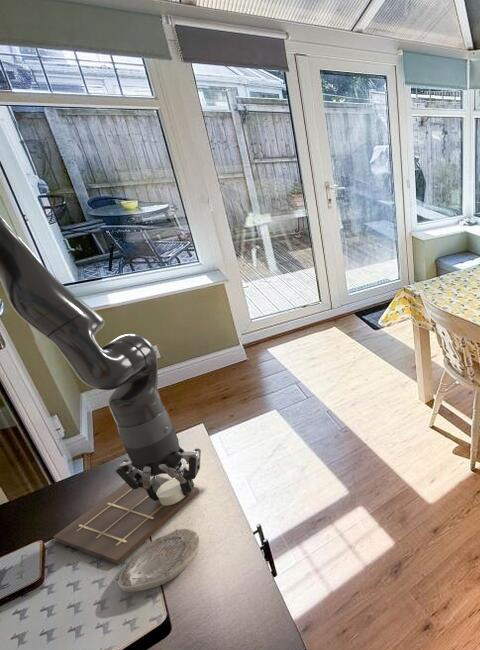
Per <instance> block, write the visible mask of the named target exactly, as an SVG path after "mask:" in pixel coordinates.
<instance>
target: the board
mask: <svg viewBox="0 0 480 650" xmlns="http://www.w3.org/2000/svg"><path fill="white" fill-rule="evenodd" d="M140 472H141V473H142V475H143V472H142V471H140ZM134 479H135V478H134ZM135 480H136V479H135ZM155 480H158V482H159V484H160V486H161V485H162V484H164V483H165V482H167V481H169V480H170V478H166V477H162V476H159V475H156V479H155ZM199 493H200V489H199V488H198V487H195V486H194V487H193V489H192V491H191V492H190V494H189V495H186V496H185V497H184V498H183V499H182V500H180V501H179V502H177V503H175V504H172V505H168V506H164V505H161V504H160V502H159V500H158V501H153V499H151V498H149V495H148V493H147V491H146V490H145V489H143V487H138V489H132V488H131V487H130V486H129V485H128V484H127V483H126V482H125V483H123V484H122V485H120V486H119V487H118V488H116V489H115V490H114V491H112V492H111V493H110V494H108V495H107V496H106V497H104V498H103V499H101V501H99V502H98V503H96V504H95V505H94V506H92V507H91V508H89V509H88V510H87V511H86V512H85V513H83V514H81V516H78V517H77V518H76V519H75V520H74V521H72V522H71V523H70V524H67V526H66V527H64V528H63V529H61V530H60V531H59V532H58V533H56V534H55V535H54V536H53V539H54V541H55V542H57V543H60V544H62V545H66V546H69V547H70V548H74V549H76V550H79V551H82V552H84V553H86V554H90V555H92V556H95V557H97V558H100V559H103V560H106V561H109V562H111V563H114V564H117V565H121V563H123V561H125V560H126V559H127V558H128V557H129V556H130V555H131V554H133V553H134V552H135V551H136V550H137V549H138V548H139V547H140V546H141V545H142V544H144V543H145V542H146V541H147V540H148V539H150V538H151V536H152V535H154V534H155V533H156V532H157V531H158V530H160V528H161V527H162V526H164V525H165V524H166V523H167V522H168V521H169V520H170V519H171V518H172V517H174V516H175V515H176V514H177V513H178V512H179V511H181V509H183V508H184V507H185V506H186V505H187V504H188V503H189V502H190V501H191V500H193V499H194V498H195V497H196V496H197V495H198V494H199Z"/></svg>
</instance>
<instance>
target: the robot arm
mask: <svg viewBox="0 0 480 650" xmlns="http://www.w3.org/2000/svg"><path fill="white" fill-rule="evenodd" d="M0 283H1V285H2V288H3V290H4V293H5V297H6V298H7V300H8V303H9V304H10V306H11V308H12V309H13V311H14V312H15V313H16V314H17V316H19V317H20V318H21V320H23V321H24V322H25V323H26V324H28V326H30V327H31V328H33V329H34V330H35V331H37V333H39V334H41V335H42V336H43V337H45V338H46V339H47V340H49V341H50V342H52V343H53V344H54V345H55V346H56V348H57V349H58V351H59V352H60V354H61V355H62V356H63V358H64V359H65V360H66V362H67V363H68V365H69V366H70V368H71V369H72V370H73V372H74V373H75V375H76V376H77V378H78V379H79V380H80V381H82V382H83V384H85V385H86V386H88V387H91V388H93V389H95V390H100V391H112V392H111V394H110V395H109V396H108V399H107V406H108V408H109V411H110V413H111V415H112V417H113V419H114V422H115V424H116V428H117V432H118V435H119V438H120V440H121V442H122V445H123V447H124V449H125V451H126V453H127V456H128V458H129V459H123V460H122V462H121V463H120V464H119V465H118V467H117V469H116V470H115V473H116V474H117V475H118V476H119V477H120V478H121V479H122V480H123V481H124V482H125V483H127V484H128V485H129V486H130V487H131V488H132V489H138V487H143V489H145V490H146V491H147V493H148V495H149V498H151V499H153V501H158V500H159V499H158V497H157V495H156V492H157V490H158V488H159V487H160V484H159V482H158V480H155V479H156V476H159V475H168V476H169V478H171V479H175V478H176V479H177V480H178V481H179V482H180V487H181V489H182V492H183V494H184V496H186V495H189V494H190V492H191V491H192V489H193V487H195V483H194V480H195V479H196V477H197V475H198V473H199V471H200V469H201V454H202V453H201V452H202V451H201V449H200V448H194V449H193V451H185V450H184V448H182V447H181V446H180V442H179V437H178V435H177V433H176V430H175V427H174V424H173V421H172V419H171V417H170V414H169V412H168V410H167V409H166V407H165V405H164V403H163V400H162V397H161V395H160V392H159V390H158V381H159V376H158V375H159V373H158V371H159V369H158V366H159V365H158V355H157V352H156V349H155V348H154V346H153V344H152V343H151V342H150V341H149V340H148V339H147V338H145V337H144V336H141V335H138V334H135V333H134V334H133V333H129V334H127V333H126V334H123V335H120V336H118V337H115V339H113V340H111V341H110V342H108V343H106V344H105V345H103V346H101V347H100V345H99V344H98V342H97V340H96V338H95V336H96V335H97V334H98V333H99V332H100V331H101V330H102V329H103V328H104V326H105V324H106V322H105V320H104V318H103V316H101V315H100V314H99V313H98V312H97V311H96V310H94V309H93V308H92V307H91V306H89V305H88V304H87V303H86V302H84V300H83V299H81V298H80V297H79V296H77V295H76V294H75V293H73V292H72V291H71V290H70V289H68V288H67V287H66V285H64V284H63V283H62V282H61V281H60V280H58V278H56V276H54V274H52V272H50V271H49V270H48V269H47V267H45V265H44V264H43V263H42V262H41V261H40V260H39V259H38V258H37V256H36V255H35V254H34V253H33V252H32V250H31V249H30V248H29V247H28V246H27V245H26V243H25V242H23V241H22V238H20V237H19V236H18V235H17V234H16V233H15V232H14V230H13V229H12V228H11V227H10V226H9V225H8V223H7V222H6V220H4V219H3V218H2V217H1V216H0ZM184 460H185V461H184ZM186 465H188V466H186ZM141 471H142V472H143V475H142V473H141ZM134 478H135V479H136V480H135V479H134Z"/></svg>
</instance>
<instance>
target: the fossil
mask: <svg viewBox="0 0 480 650" xmlns="http://www.w3.org/2000/svg"><path fill="white" fill-rule="evenodd" d="M199 545H200V536H199V534H198V533H197V532H196V531H194V530H191V529H190V528H176V529H174V530H173V531H171V532H169V533H167V534H165V535H162V536H159V537H157V538H156V539H153V540H151V541H149V542H147V543H146V544H144V545H143V546H142V547H141V548H139V550H138V551H137V552H136V553H134V554H133V556H132V557H131V558H130V560H129V561H128V563H127V564H126V565H125V567H124V568H123V570H122V571H121V572H120V574H119V577H118V581H117V584H118V587H119V588H120V589H121V590H122V591H124V592H140V591H145V590H150V589H153V588H156V587H160V586H161V585H162V586H163V585H165V584H166V583H168V582H169V581H171V580H173V579H174V578H175V577H178V575H180V573H182V572H183V571H184V569H186V568H187V567H188V566H189V565H190V564H191V563H192V562H193V561H194V559H195V558H196V557H197V555H198V551H199Z"/></svg>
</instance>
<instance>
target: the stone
mask: <svg viewBox="0 0 480 650" xmlns="http://www.w3.org/2000/svg"><path fill="white" fill-rule="evenodd" d="M156 495H157V497H158V499H159V502H160V504H161V505H164V506H168V505H172V504H175V503H177V502H179V501H180V500H182V499H183V498H184V497H185V496H184V494H183V492H182V489H181V487H180V482H179V481H178V480H177V479H176V478H171V479H169V481H167V482H165V483H164V484H162V485H161V486H160V487H159V488H158V490H157V492H156Z"/></svg>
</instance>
